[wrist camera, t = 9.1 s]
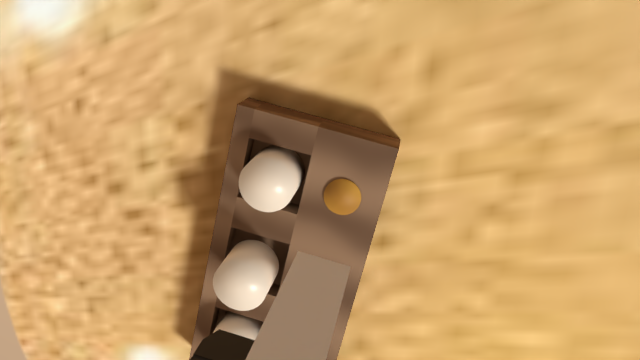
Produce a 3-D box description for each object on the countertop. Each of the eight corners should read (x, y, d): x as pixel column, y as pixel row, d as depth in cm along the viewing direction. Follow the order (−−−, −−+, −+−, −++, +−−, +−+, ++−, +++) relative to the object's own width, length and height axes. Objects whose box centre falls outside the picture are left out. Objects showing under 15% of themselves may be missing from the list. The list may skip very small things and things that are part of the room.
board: (248, 97, 48) (236, 104, 45) (400, 139, 47) (398, 149, 44) (198, 351, 57) (186, 371, 54) (325, 392, 56) (320, 414, 53)
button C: (224, 302, 54) (209, 325, 50) (270, 316, 53) (258, 340, 49) (216, 341, 55) (201, 367, 51) (260, 355, 55) (248, 382, 51)
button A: (258, 138, 48) (244, 151, 44) (309, 152, 48) (299, 166, 44) (248, 187, 50) (234, 203, 46) (298, 201, 49) (287, 218, 45)
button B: (233, 233, 49) (217, 253, 45) (283, 248, 49) (272, 269, 45) (224, 278, 50) (208, 301, 47) (273, 292, 50) (260, 317, 46)
